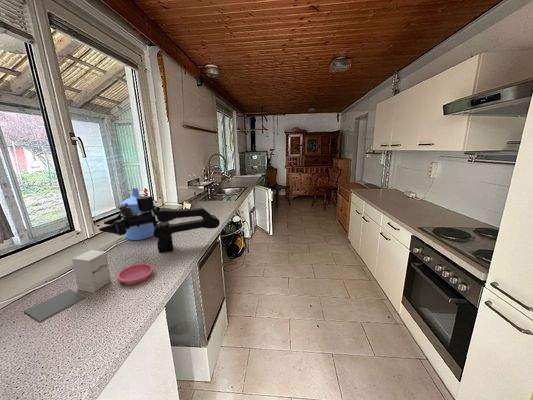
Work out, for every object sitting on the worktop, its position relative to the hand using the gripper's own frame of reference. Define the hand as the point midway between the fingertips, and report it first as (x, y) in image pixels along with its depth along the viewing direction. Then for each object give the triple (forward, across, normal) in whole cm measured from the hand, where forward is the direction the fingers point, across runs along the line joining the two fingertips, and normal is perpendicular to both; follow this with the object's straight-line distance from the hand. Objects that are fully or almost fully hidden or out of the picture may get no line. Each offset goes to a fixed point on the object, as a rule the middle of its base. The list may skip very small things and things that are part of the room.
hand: (101, 226), depth 99 cm
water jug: (-11, -26, +18) cm, 33 cm away
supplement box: (+2, +21, +16) cm, 27 cm away
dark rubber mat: (+11, +29, +16) cm, 35 cm away
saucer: (-12, +22, +18) cm, 31 cm away
